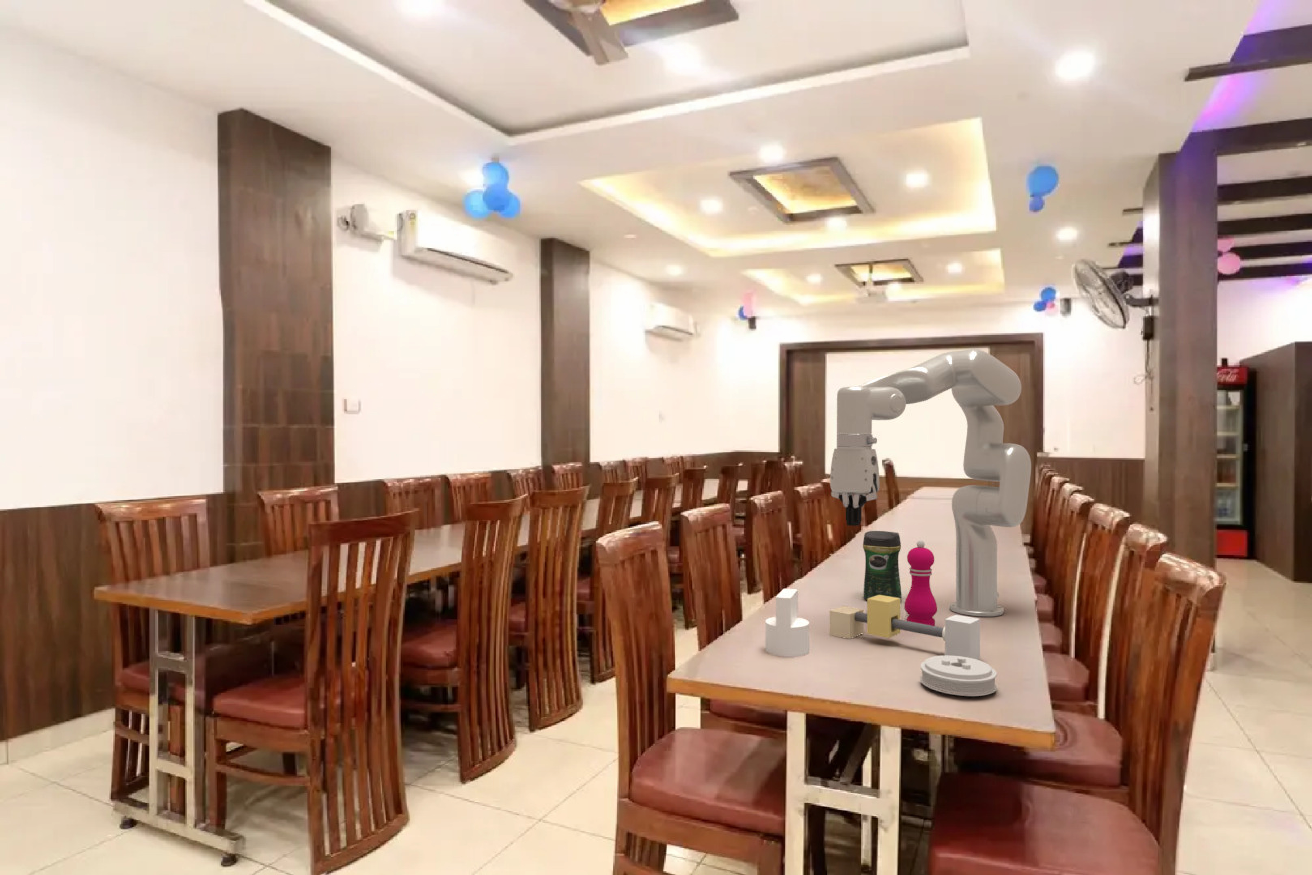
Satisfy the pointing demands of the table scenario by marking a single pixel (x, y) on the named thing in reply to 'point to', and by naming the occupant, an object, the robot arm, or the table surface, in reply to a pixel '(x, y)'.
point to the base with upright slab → (787, 627)
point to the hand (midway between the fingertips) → (853, 524)
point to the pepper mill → (920, 586)
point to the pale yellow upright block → (882, 615)
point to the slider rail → (916, 630)
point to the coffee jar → (881, 564)
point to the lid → (958, 675)
